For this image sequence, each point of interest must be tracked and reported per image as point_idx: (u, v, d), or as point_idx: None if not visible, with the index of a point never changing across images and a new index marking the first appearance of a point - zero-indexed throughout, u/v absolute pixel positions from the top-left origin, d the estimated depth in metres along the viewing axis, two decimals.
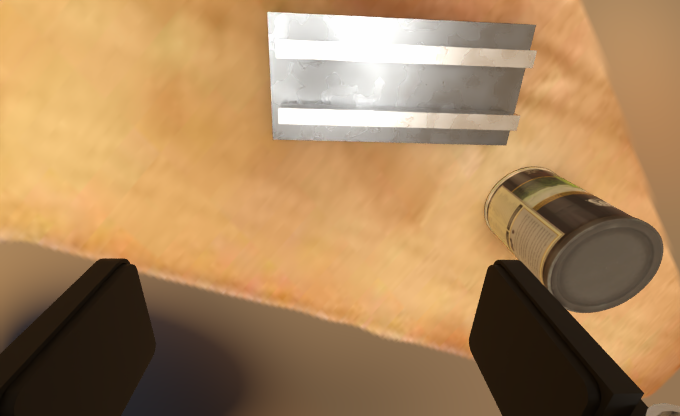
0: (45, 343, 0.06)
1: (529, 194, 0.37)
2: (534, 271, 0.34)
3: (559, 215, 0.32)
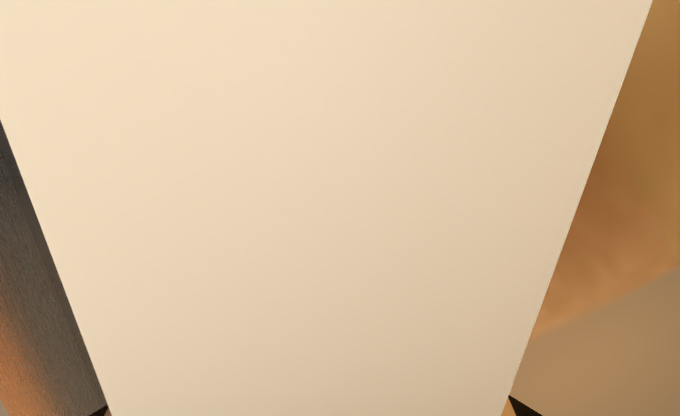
0: None
1: None
2: None
3: None
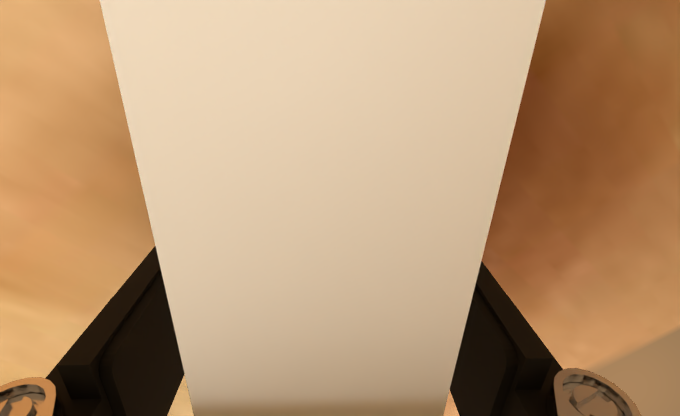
0: (128, 314, 0.07)
1: None
2: None
3: None
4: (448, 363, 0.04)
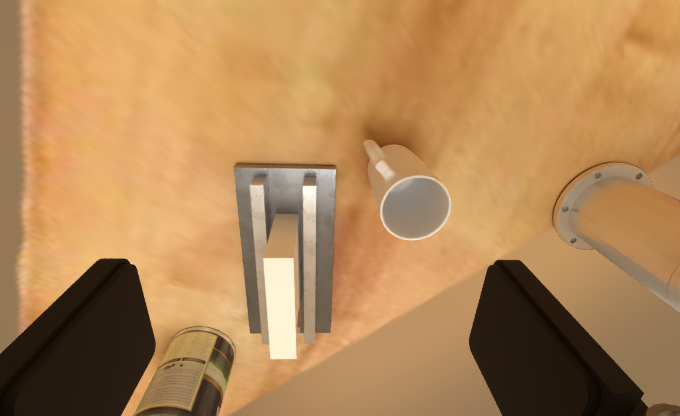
0: (45, 343, 0.06)
1: (214, 364, 0.48)
2: (151, 398, 0.42)
3: (203, 398, 0.44)
4: (293, 289, 0.36)
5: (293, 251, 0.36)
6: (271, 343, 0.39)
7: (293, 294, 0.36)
